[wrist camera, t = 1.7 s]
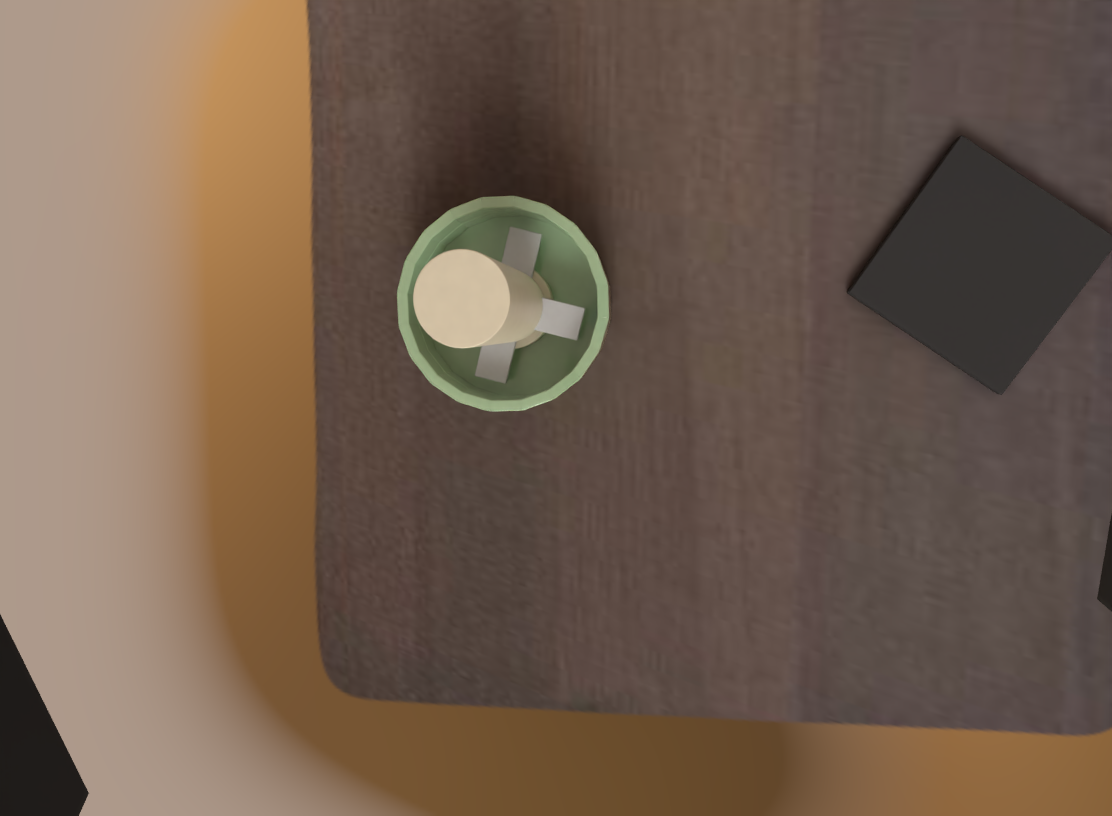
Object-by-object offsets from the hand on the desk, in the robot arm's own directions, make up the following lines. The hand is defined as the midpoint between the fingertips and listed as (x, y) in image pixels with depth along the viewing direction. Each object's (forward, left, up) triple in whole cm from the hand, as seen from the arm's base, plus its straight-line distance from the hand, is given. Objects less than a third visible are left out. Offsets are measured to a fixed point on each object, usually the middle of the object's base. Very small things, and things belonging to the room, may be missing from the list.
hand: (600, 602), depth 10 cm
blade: (0, -8, -39) cm, 40 cm away
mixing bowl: (0, -8, -40) cm, 40 cm away
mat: (-16, +12, -40) cm, 44 cm away
